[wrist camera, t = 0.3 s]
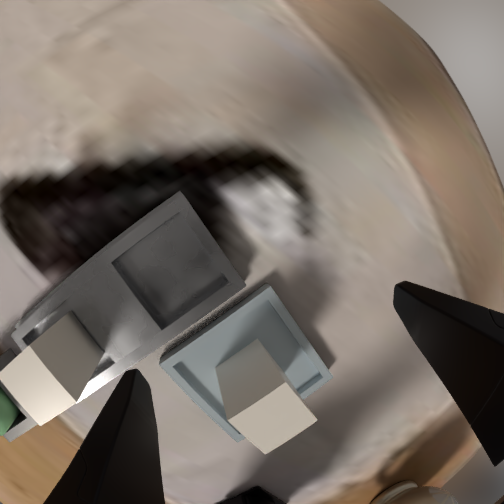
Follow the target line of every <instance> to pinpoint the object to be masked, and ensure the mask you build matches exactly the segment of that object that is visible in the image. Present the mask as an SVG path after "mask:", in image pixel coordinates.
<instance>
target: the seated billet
mask: <svg viewBox="0 0 504 504" xmlns="http://www.w3.org/2000/svg"><path fill="white" fill-rule="evenodd" d="M103 355H104V352H103V351H102V350H101V349H100V348H99V346H98V345H97V344H96V343H95V341H94V340H93V339H92V338H91V336H90V335H89V334H88V333H87V331H86V330H85V329H84V327H83V326H82V325H81V323H80V322H79V321H78V319H77V318H76V317H75V315H74V314H73V313H72V311H70V312H68V313H67V314H66V315H65V316H63V317H62V318H61V319H60V320H59V321H57V322H56V323H55V324H54V325H53V326H51V327H50V328H49V329H48V330H47V331H45V332H44V333H43V334H42V335H41V336H39V337H38V338H37V339H36V340H35V341H34V342H32V343H31V344H30V345H29V346H28V347H27V348H26V349H24V350H23V351H22V352H21V353H20V354H19V355H18V356H17V357H16V358H15V359H13V360H12V361H11V362H10V363H9V364H8V365H7V366H6V367H5V368H4V369H3V370H2V371H1V372H0V380H1V382H2V383H3V384H4V385H5V387H6V388H7V389H8V390H9V392H10V393H11V394H12V395H13V397H14V398H15V399H16V400H17V401H18V402H19V404H20V405H21V406H22V407H23V408H24V409H25V410H26V412H27V413H28V414H29V415H30V416H31V417H32V418H33V419H34V420H35V421H36V422H37V423H38V424H39V425H40V426H41V425H43V424H45V423H46V422H48V421H49V420H51V419H52V418H54V417H55V416H57V415H59V414H60V413H62V412H63V411H65V410H66V409H68V408H69V407H71V406H72V405H74V404H75V403H77V402H78V400H79V398H80V396H81V394H82V392H83V390H84V389H85V387H86V385H87V383H88V381H89V380H90V378H91V376H92V374H93V372H94V371H95V369H96V367H97V365H98V364H99V362H100V360H101V358H102V357H103Z"/></svg>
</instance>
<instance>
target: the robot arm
mask: <svg viewBox="0 0 504 504" xmlns="http://www.w3.org/2000/svg"><path fill="white" fill-rule="evenodd" d="M393 305H394V308H395V310H396V312H397V313H398V315H399V317H400V318H401V320H402V322H403V324H404V325H405V327H406V329H407V331H408V332H409V334H410V336H411V337H412V339H413V341H414V342H415V344H416V345H417V347H418V348H419V349H420V351H421V352H422V354H423V355H424V356H425V358H426V359H427V361H428V362H429V363H430V365H431V366H432V368H433V369H434V371H435V372H436V374H437V375H438V377H439V378H440V379H441V381H442V382H443V384H444V385H445V387H446V388H447V390H448V391H449V393H450V394H451V396H452V397H453V399H454V401H455V402H456V404H457V405H458V407H459V408H460V410H461V411H462V413H463V415H464V416H465V418H466V419H467V421H468V423H469V424H470V426H471V428H472V429H473V431H474V433H475V434H476V436H477V438H478V439H479V441H480V443H481V444H482V446H483V448H484V450H485V451H486V453H487V455H488V456H489V458H490V460H491V462H492V464H493V465H494V466H497V465H498V464H499V463H500V462H501V461H503V460H504V314H503V313H500V312H497V311H494V310H491V309H488V308H485V307H483V306H480V305H477V304H474V303H471V302H468V301H465V300H462V299H459V298H456V297H453V296H450V295H447V294H444V293H441V292H438V291H435V290H432V289H429V288H426V287H423V286H420V285H417V284H414V283H411V282H408V281H403V282H400V283H398V284H396V285H395V287H394V299H393ZM43 504H165V499H164V492H163V484H162V475H161V466H160V455H159V444H158V432H157V424H156V418H155V413H154V407H153V401H152V395H151V389H150V386H149V383H148V382H147V381H146V379H145V378H144V376H143V375H142V374H141V372H140V371H139V370H138V369H132V370H128V371H126V372H125V373H124V375H123V376H122V378H121V379H120V381H119V383H118V384H117V386H116V388H115V389H114V391H113V392H112V394H111V396H110V397H109V399H108V401H107V402H106V404H105V406H104V407H103V409H102V411H101V412H100V414H99V416H98V417H97V419H96V421H95V422H94V424H93V426H92V427H91V429H90V431H89V433H88V434H87V436H86V438H85V439H84V441H83V443H82V445H81V446H80V449H79V450H78V451H77V453H76V455H75V457H74V458H73V460H72V462H71V463H70V465H69V467H68V468H67V470H66V471H65V473H64V474H63V476H62V477H61V479H60V480H59V482H58V483H57V485H56V486H55V488H54V489H53V490H52V492H51V493H50V495H49V496H48V498H47V499H46V501H45V502H44V503H43ZM221 504H286V503H284V502H283V501H281V500H280V499H278V498H277V497H275V496H273V495H272V494H270V493H269V492H267V491H266V490H264V489H263V488H261V487H260V486H256V487H254V488H252V489H250V490H248V491H246V492H244V493H242V494H240V495H238V496H236V497H234V498H232V499H229V500H227V501H225V502H223V503H221ZM495 504H504V495H503V496H502V497H501V498H500V499H499V500H498V501H497V502H495Z"/></svg>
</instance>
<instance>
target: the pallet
mask: <svg viewBox="0 0 504 504" xmlns="http://www.w3.org/2000/svg"><path fill="white" fill-rule="evenodd" d="M244 287H246V284H245V282H244V281H243V280H242V278H241V277H240V275H239V274H238V273H237V271H236V270H235V268H234V267H233V265H232V264H231V263H230V261H229V260H228V258H227V257H226V256H225V254H224V253H223V251H222V250H221V248H220V247H219V245H218V244H217V243H216V241H215V240H214V238H213V237H212V235H211V234H210V233H209V231H208V230H207V228H206V227H205V225H204V224H203V222H202V221H201V220H200V218H199V217H198V215H197V214H196V212H195V211H194V209H193V208H192V206H191V205H190V203H189V202H188V201H187V199H186V198H185V196H184V195H183V194H182V193H181V192H180V191H179V192H177V193H176V194H175V195H173V196H172V197H170V198H169V199H167V200H166V201H165V202H163V203H162V204H160V205H159V206H158V207H156V208H155V209H154V210H152V211H151V212H149V213H148V214H147V215H145V216H144V217H143V218H141V219H140V220H139V221H137V222H136V223H135V224H133V225H132V226H131V227H129V228H128V229H127V230H125V231H124V232H123V233H121V234H120V235H119V236H118V237H116V238H115V239H114V240H112V241H111V242H110V243H109V244H107V245H106V246H105V247H104V248H102V249H101V250H100V251H99V252H97V253H96V254H95V255H94V256H92V257H91V258H90V259H89V260H88V261H86V262H85V263H84V264H83V265H82V266H80V267H79V268H78V269H77V270H76V271H74V272H73V273H72V274H71V275H70V276H69V277H67V278H66V279H65V280H64V281H63V282H62V283H61V284H59V285H58V286H57V287H56V288H55V289H54V290H53V291H52V292H50V293H49V294H48V295H47V296H46V297H45V298H44V299H43V300H42V301H41V302H39V303H38V304H37V305H36V306H35V307H34V308H33V309H32V310H31V311H30V312H29V313H28V314H27V315H26V316H25V317H23V318H22V319H21V320H20V321H19V322H18V323H17V324H16V325H15V327H16V330H15V331H14V332H13V333H12V334H11V336H12V338H13V339H14V341H15V342H16V343H17V345H18V346H19V348H20V349H21V350H22V351H23V350H24V349H26V348H27V347H28V346H29V345H30V344H31V343H32V342H34V341H35V340H36V339H37V338H38V337H39V336H41V335H42V334H43V333H44V332H45V331H47V330H48V329H49V328H50V327H51V326H53V325H54V324H55V323H56V322H57V321H59V320H60V319H61V318H62V317H63V316H65V315H66V314H67V313H68V312H70V311H72V313H73V314H74V315H75V317H76V318H77V319H78V321H79V322H80V323H81V325H82V326H83V327H84V329H85V330H86V331H87V333H88V334H89V335H90V336H91V338H92V339H93V340H94V341H95V343H96V344H97V345H98V346H99V348H100V349H101V350H102V351H103V352H104V355H103V357H102V358H101V360H100V362H99V364H98V365H97V367H96V369H95V371H94V372H93V374H92V376H91V378H90V380H89V381H88V383H87V385H86V387H85V389H84V390H83V392H82V394H81V396H80V398H79V400H78V402H79V401H81V400H82V399H84V398H85V397H87V396H88V395H90V394H91V393H93V392H94V391H96V390H97V389H99V388H100V387H102V386H103V385H105V384H106V383H108V382H109V381H111V380H112V379H114V378H115V377H117V376H118V375H120V374H121V373H123V372H124V371H126V370H127V369H129V368H130V367H132V366H133V365H135V364H136V363H138V362H139V361H140V360H142V359H143V358H145V357H146V356H148V355H149V354H151V353H152V352H154V351H155V350H156V349H158V348H159V347H161V346H162V345H164V344H165V343H167V342H168V341H169V340H171V339H172V338H174V337H175V336H177V335H178V334H180V333H181V332H182V331H184V330H185V329H187V328H188V327H189V326H191V325H192V324H194V323H195V322H197V321H198V320H199V319H201V318H202V317H204V316H205V315H207V314H208V313H209V312H211V311H212V310H214V309H215V308H216V307H218V306H219V305H221V304H222V303H223V302H225V301H226V300H228V299H229V298H230V297H232V296H233V295H235V294H236V293H237V292H239V291H240V290H241V289H243V288H244ZM78 402H77V403H78Z"/></svg>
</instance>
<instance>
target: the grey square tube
mask: <svg viewBox="0 0 504 504" xmlns="http://www.w3.org/2000/svg"><path fill="white" fill-rule="evenodd" d="M15 358H16V356H15V354H14V353H13V351H12V350H11V349H9V350H7V351H6V352H5V353H4V354H2V355H1V356H0V372H1V371H2V370H3V369H4V368H5V367H6V366H7V365H8V364H9V363H10V362H11V361H12V360H13V359H15ZM0 387H1V388H2V389H3V390H4V392H5V393H6V394H7V395H8V397H9V398H10V399H11V400H12V401H13V403H14V404H15V405H16V406H17V407H18V408H19V409H20V411H21V413H20V414H19V415H18V416H17V418H16V419H15V420H14V422H13V423H12V425H11V426H10V427H9V429H8V430H7V432H6V433H5V434H4V435H3V436H4V437H5V438H6V439H7V440H8V441H9V442H11V441H12V440H14V439H16V438H17V437H19V436H20V435H22V434H23V433H25V432H26V431H28V430H30V429H31V428H33V427H34V426H36V425H37V424H38V423H37V422H36V421H35V420H34V419H33V418H32V417H31V416H30V415H29V414H28V413H27V412H26V410H25V409H24V408H23V407H22V406H21V405H20V404H19V402H18V401H17V400H16V399H15V398H14V397H13V395H12V394H11V393H10V392H9V390H8V389H7V388H6V387H5V385H4V384H3V383H2V382H1V380H0Z"/></svg>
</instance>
